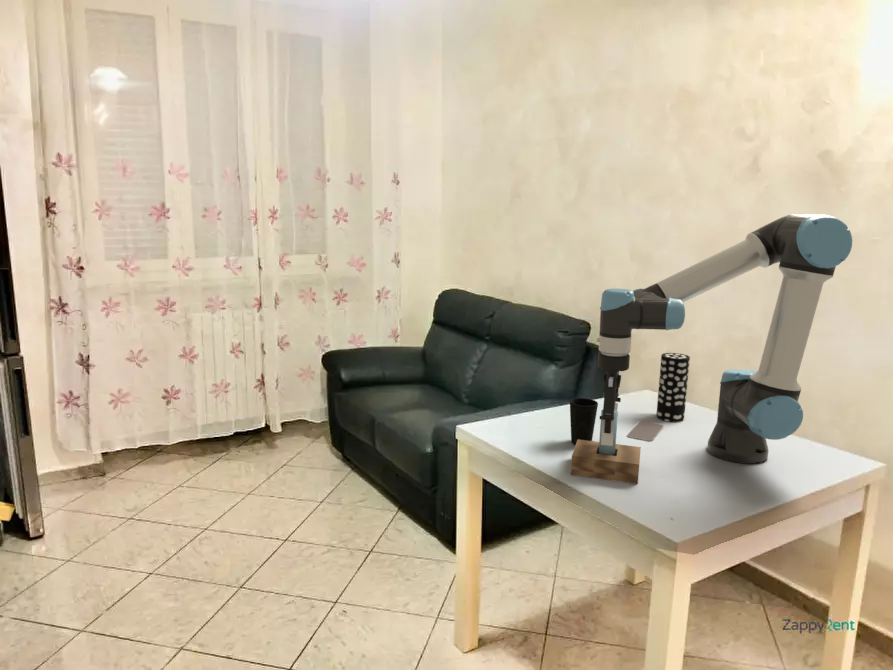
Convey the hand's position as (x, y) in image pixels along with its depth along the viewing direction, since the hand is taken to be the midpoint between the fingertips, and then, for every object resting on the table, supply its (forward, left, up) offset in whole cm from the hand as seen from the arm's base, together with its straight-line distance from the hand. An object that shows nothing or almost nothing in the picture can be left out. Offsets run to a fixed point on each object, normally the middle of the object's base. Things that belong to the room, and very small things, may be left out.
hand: (608, 435), depth 166 cm
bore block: (0, 0, -9) cm, 9 cm away
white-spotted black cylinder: (-16, -49, -9) cm, 52 cm away
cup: (+8, -17, -9) cm, 21 cm away
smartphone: (-9, -33, -10) cm, 35 cm away
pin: (0, 0, -8) cm, 8 cm away
